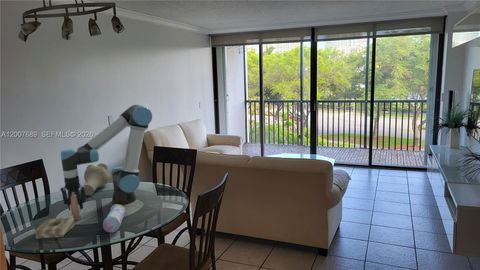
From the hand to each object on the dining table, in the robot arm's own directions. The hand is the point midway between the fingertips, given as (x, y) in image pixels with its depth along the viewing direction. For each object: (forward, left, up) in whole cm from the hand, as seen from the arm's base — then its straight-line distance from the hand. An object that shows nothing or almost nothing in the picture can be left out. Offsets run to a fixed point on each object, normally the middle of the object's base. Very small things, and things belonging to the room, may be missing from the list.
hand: (76, 214), depth 200 cm
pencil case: (-26, +12, -3) cm, 29 cm away
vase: (+9, -51, -3) cm, 52 cm away
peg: (0, 0, -3) cm, 3 cm away
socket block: (+5, +15, -3) cm, 16 cm away
